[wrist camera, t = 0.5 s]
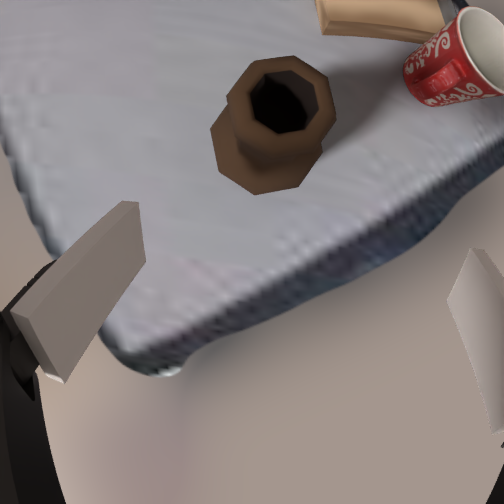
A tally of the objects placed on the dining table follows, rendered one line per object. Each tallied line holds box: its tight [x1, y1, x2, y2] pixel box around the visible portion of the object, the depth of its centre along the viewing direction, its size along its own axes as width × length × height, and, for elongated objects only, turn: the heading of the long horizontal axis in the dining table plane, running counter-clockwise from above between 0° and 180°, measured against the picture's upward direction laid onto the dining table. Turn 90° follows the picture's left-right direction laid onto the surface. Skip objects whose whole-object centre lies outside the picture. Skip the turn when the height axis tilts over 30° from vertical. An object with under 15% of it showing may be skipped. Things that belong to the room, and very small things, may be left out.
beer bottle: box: [210, 56, 336, 195], centre depth 21 cm, size 8×8×24 cm
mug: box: [403, 6, 504, 107], centre depth 23 cm, size 13×9×14 cm
